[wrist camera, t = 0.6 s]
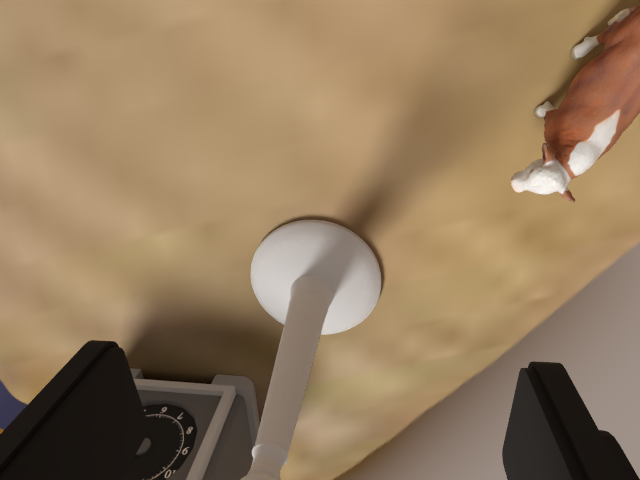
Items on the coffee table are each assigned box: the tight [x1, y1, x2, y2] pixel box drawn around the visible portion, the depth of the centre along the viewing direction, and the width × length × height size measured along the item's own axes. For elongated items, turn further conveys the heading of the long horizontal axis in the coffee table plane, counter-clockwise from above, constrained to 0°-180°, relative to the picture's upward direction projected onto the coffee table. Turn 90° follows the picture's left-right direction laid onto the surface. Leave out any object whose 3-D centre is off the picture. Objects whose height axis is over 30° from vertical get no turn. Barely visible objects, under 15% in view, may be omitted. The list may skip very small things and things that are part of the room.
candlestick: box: [240, 220, 381, 480], centre depth 27 cm, size 13×13×30 cm
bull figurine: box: [511, 6, 640, 202], centre depth 27 cm, size 4×13×8 cm, turn 152°
